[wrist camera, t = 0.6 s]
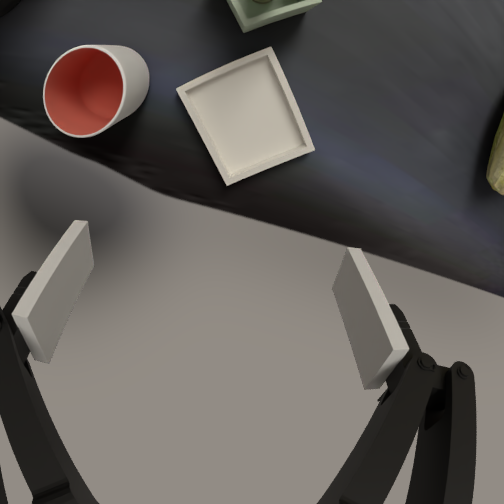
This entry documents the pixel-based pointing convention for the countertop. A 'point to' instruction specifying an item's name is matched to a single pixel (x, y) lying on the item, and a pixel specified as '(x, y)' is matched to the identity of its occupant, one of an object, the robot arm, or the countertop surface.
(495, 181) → the lettuce
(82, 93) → the cup
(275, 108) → the dish
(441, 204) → the countertop surface
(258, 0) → the dowel
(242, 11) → the pen pot
